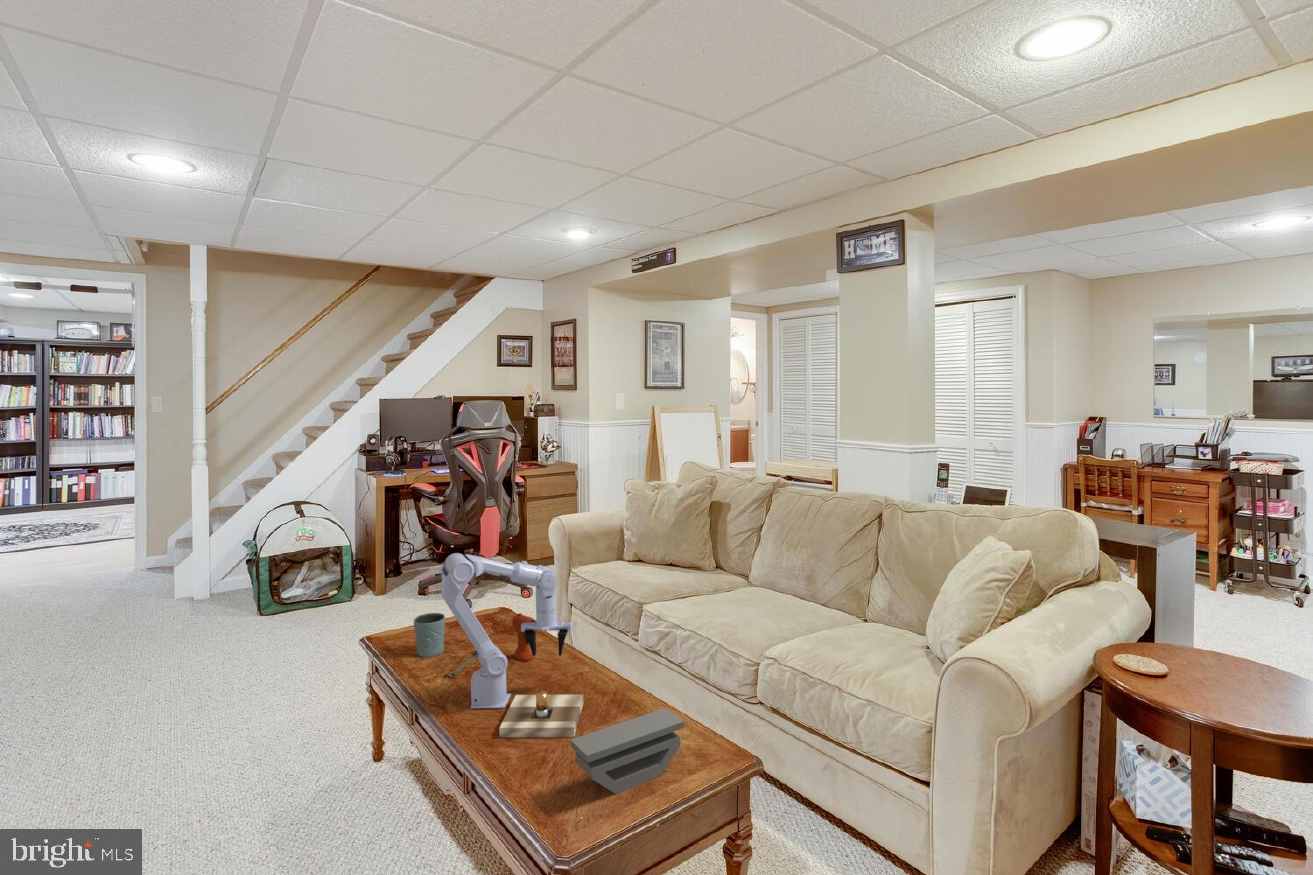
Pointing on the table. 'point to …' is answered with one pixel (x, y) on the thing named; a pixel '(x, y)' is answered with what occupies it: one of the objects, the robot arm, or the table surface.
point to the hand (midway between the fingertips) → (547, 654)
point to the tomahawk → (462, 666)
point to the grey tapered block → (629, 750)
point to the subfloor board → (525, 724)
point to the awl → (541, 705)
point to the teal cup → (429, 634)
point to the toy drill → (522, 638)
